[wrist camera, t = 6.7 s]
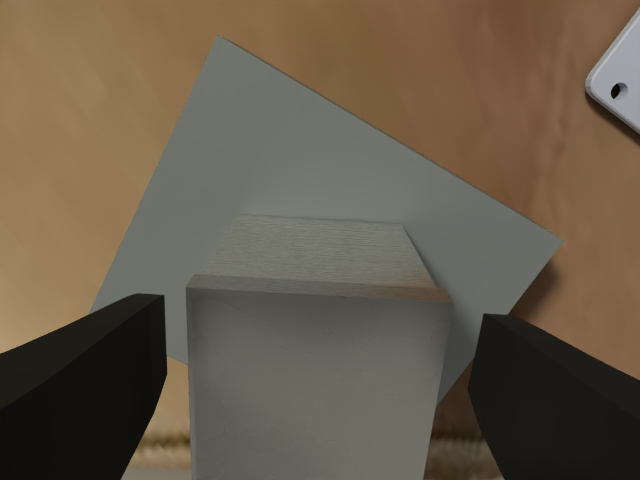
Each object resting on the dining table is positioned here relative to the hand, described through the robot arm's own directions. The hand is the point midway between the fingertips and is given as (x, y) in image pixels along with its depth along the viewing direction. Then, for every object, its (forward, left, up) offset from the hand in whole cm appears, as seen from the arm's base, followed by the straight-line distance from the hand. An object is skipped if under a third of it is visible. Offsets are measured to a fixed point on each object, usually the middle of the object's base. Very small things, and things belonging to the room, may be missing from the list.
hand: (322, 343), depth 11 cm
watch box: (0, 0, -7) cm, 7 cm away
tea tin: (0, 0, -3) cm, 3 cm away
